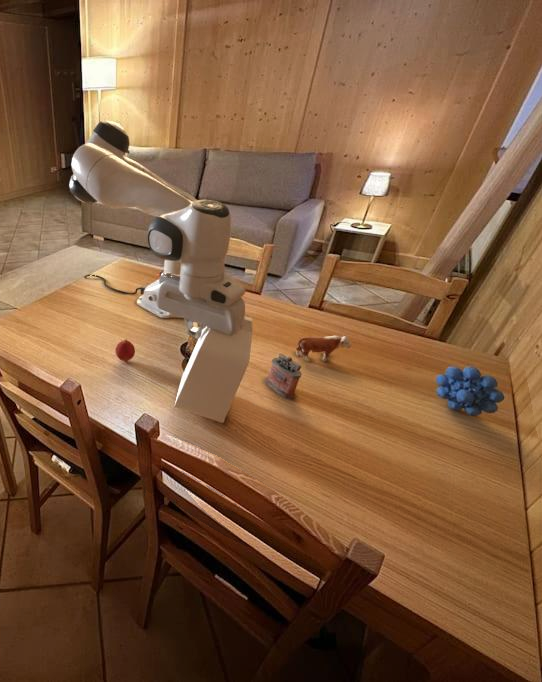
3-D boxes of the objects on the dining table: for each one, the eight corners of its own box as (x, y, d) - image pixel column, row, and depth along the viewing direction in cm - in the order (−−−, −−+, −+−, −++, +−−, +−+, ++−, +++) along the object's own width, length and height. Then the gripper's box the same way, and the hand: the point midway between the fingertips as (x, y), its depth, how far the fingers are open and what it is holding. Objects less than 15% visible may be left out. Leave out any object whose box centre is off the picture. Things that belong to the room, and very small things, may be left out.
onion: (111, 361, 109) (111, 340, 105) (123, 352, 112) (123, 331, 108) (127, 369, 106) (127, 347, 101) (138, 359, 109) (139, 338, 104)
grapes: (418, 405, 87) (442, 367, 80) (426, 392, 90) (450, 354, 84) (483, 432, 79) (516, 392, 73) (489, 416, 83) (521, 377, 76)
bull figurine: (346, 364, 101) (356, 340, 97) (294, 361, 104) (302, 337, 99) (340, 355, 105) (350, 332, 100) (290, 352, 107) (297, 329, 103)
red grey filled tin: (262, 381, 97) (271, 352, 92) (272, 378, 98) (281, 348, 93) (287, 400, 91) (297, 369, 86) (297, 396, 92) (308, 365, 87)
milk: (174, 406, 89) (206, 321, 73) (181, 377, 98) (212, 296, 82) (222, 423, 86) (267, 338, 70) (225, 392, 95) (266, 310, 79)
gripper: (152, 274, 81) (150, 326, 89) (239, 301, 68) (227, 358, 76) (168, 265, 84) (164, 316, 92) (253, 289, 72) (241, 345, 80)
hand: (193, 335), depth 84 cm, fingers closed
